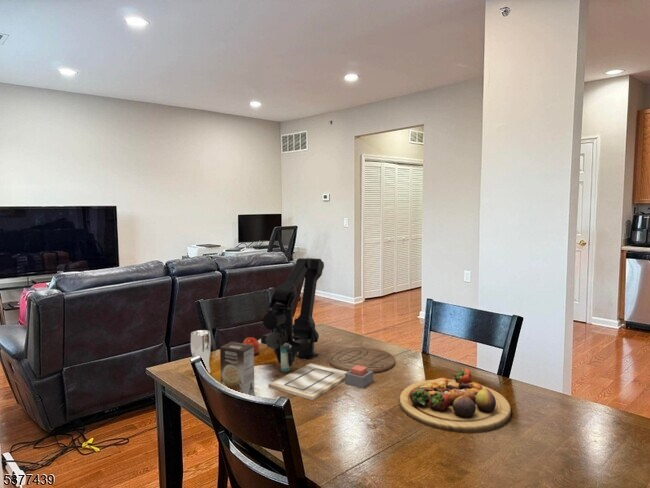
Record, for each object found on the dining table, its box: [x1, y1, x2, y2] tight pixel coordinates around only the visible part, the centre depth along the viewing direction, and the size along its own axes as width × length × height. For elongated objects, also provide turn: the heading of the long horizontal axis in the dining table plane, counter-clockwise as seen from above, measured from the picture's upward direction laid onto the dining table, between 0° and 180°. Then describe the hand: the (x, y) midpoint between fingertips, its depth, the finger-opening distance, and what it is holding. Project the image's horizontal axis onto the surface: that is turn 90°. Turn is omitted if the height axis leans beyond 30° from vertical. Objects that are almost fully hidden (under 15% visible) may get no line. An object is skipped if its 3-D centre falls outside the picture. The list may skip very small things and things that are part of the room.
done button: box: [351, 365, 367, 376], centre depth 152 cm, size 4×4×3 cm
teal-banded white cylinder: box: [280, 344, 291, 373], centre depth 163 cm, size 3×3×9 cm
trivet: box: [328, 347, 396, 375], centre depth 172 cm, size 25×25×2 cm
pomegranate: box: [242, 336, 261, 355], centre depth 181 cm, size 7×7×10 cm
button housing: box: [344, 370, 374, 389], centre depth 152 cm, size 7×7×4 cm
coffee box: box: [219, 341, 255, 396], centre depth 142 cm, size 9×6×16 cm
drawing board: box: [267, 362, 347, 401], centre depth 153 cm, size 24×18×1 cm
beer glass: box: [190, 329, 212, 376], centre depth 160 cm, size 7×7×15 cm
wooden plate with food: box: [398, 368, 512, 434], centre depth 134 cm, size 32×32×8 cm
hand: (285, 364), depth 164 cm, fingers open, 4 cm apart
